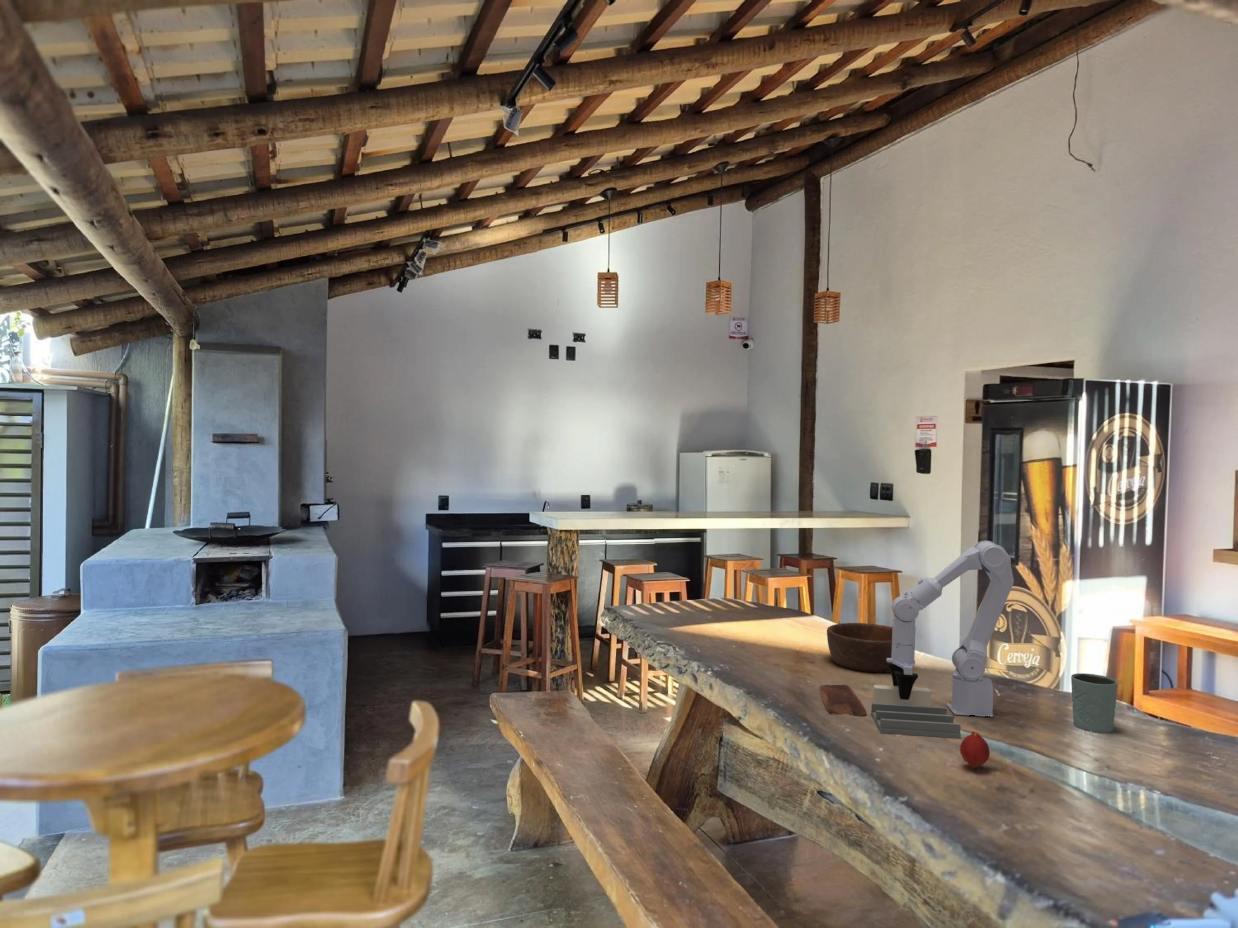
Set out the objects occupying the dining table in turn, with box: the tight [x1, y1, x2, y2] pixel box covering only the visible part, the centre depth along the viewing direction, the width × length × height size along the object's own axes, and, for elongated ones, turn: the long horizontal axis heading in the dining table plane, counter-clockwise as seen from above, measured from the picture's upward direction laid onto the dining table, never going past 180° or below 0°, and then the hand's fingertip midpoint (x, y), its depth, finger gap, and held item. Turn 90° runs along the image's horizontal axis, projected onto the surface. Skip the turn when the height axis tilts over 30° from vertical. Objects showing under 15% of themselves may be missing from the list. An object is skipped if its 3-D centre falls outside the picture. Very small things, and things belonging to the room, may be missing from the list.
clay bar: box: [872, 684, 932, 706], centre depth 218 cm, size 14×3×5 cm, turn 83°
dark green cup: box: [1070, 672, 1119, 734], centre depth 206 cm, size 10×10×12 cm
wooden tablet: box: [818, 684, 867, 717], centre depth 223 cm, size 26×2×10 cm
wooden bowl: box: [826, 622, 893, 673], centre depth 259 cm, size 25×25×10 cm
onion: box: [959, 730, 991, 769], centre depth 178 cm, size 6×6×8 cm
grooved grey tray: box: [870, 702, 962, 739], centre depth 204 cm, size 18×14×3 cm
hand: (901, 694), depth 218 cm, fingers open, 7 cm apart
